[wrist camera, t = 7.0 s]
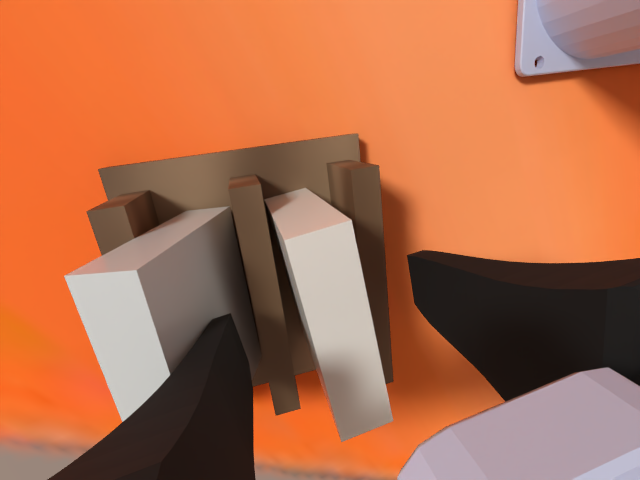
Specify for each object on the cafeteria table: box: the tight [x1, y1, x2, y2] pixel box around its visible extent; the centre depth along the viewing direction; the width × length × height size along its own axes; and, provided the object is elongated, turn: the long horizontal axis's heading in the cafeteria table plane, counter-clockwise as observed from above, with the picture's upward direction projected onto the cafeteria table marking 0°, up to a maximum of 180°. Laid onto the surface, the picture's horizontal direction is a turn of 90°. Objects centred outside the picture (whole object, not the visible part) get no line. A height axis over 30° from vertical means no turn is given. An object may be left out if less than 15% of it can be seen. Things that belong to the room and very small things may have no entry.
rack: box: [87, 134, 393, 415], centre depth 14 cm, size 10×11×4 cm
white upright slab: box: [264, 188, 393, 442], centre depth 12 cm, size 2×7×6 cm, turn 13°
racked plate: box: [64, 206, 262, 422], centre depth 12 cm, size 2×7×6 cm, turn 8°
